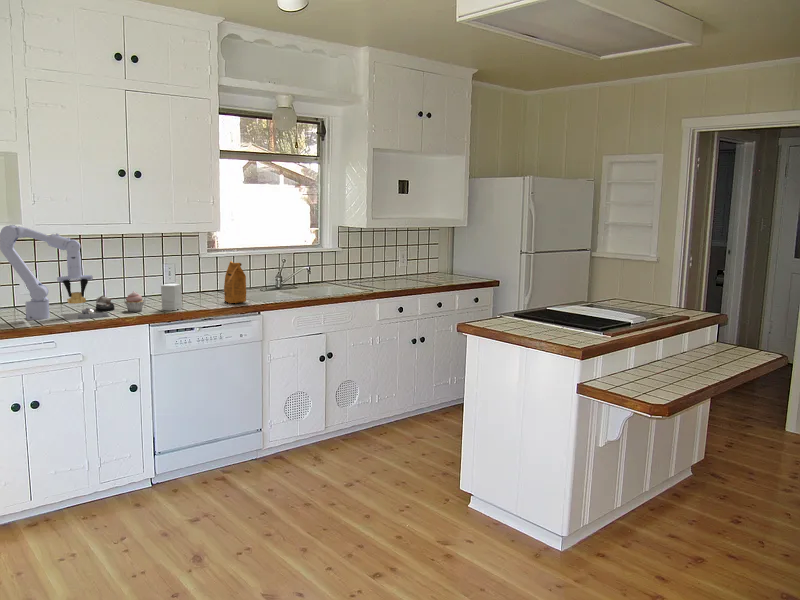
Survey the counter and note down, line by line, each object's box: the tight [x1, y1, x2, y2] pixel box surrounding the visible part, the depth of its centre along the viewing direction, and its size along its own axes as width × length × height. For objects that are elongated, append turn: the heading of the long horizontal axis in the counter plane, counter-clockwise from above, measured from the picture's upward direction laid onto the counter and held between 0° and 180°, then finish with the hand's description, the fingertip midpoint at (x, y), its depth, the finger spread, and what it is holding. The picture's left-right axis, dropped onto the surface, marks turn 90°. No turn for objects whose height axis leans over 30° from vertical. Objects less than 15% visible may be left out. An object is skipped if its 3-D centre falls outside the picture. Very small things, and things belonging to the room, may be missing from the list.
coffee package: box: [223, 260, 247, 304], centre depth 366 cm, size 10×12×22 cm
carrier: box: [61, 307, 111, 321], centre depth 314 cm, size 18×17×4 cm
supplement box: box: [160, 283, 183, 311], centre depth 340 cm, size 7×7×13 cm
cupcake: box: [124, 290, 145, 313], centre depth 334 cm, size 9×9×10 cm
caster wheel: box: [95, 294, 115, 312], centre depth 331 cm, size 7×11×10 cm
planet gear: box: [66, 291, 87, 305], centre depth 310 cm, size 7×7×4 cm
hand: (76, 296), depth 310 cm, fingers closed on planet gear, 5 cm apart
